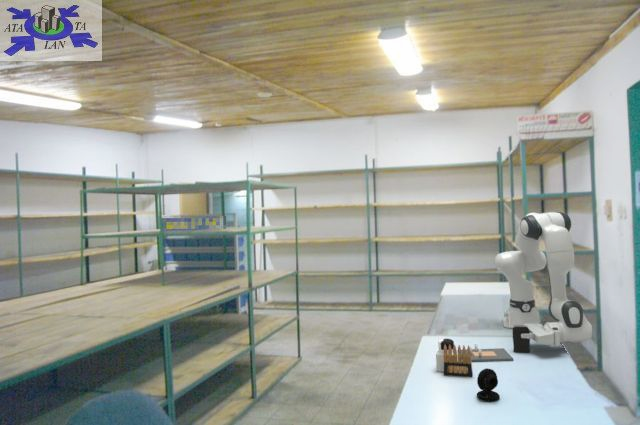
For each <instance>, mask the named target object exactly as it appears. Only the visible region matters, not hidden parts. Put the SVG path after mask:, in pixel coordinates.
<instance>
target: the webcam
mask: <svg viewBox="0 0 640 425" xmlns="http://www.w3.org/2000/svg"><path fill="white" fill-rule="evenodd" d="M476 383H477V387H478V388H479V389H480V390H479V391H478V392H477V393H476V398H477V399H478V400H480V401H483V402H489V403H490V402H491V403H492V402H497V401H499V400H500V394H499V393H498V392H496V391H493V390H494V389H495V388H497V386H498V384H499V379H498V375H497V372H495V370H494V369H491V368H484V369H482V370H481V371H480V372H479V373H478V375H477V379H476ZM484 395H486V396H484Z"/></svg>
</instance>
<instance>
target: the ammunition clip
mask: <svg viewBox="0 0 640 425" xmlns="http://www.w3.org/2000/svg"><path fill="white" fill-rule="evenodd" d="M470 347H471V346H470V345H469V344H468V345H467V356H466V346H465V345H463V346H462V347H461V346H460V344H458V347H456V344H454V347H453V356H452V349H451V345H449V349H448V350H449V352H448V354H447V347H446V345H444V372H443V376H448V377H449V376H450V377H461V378H462V377H463V378H473V376H474V375H473V374H474V373H473V365H472V363H473V362H472V360H471V352H470ZM461 348H462V349H461ZM456 350H458V351H457V352H456ZM461 350H463V355H461ZM448 366H449V368H448ZM453 369H454V371H453Z"/></svg>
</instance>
